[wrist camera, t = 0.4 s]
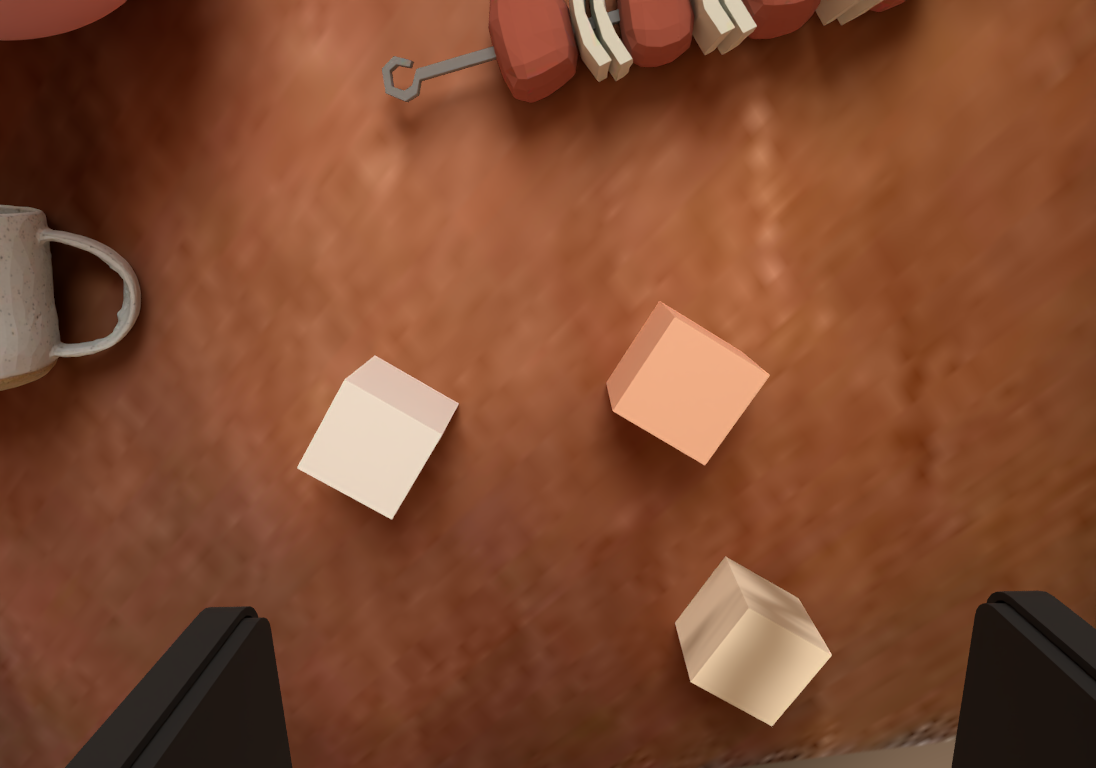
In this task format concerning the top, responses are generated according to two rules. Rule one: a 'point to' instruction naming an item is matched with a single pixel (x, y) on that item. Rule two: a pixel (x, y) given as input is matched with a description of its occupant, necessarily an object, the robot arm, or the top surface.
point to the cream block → (378, 435)
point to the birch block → (749, 642)
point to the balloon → (49, 16)
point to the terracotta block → (683, 383)
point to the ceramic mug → (45, 297)
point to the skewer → (646, 29)
